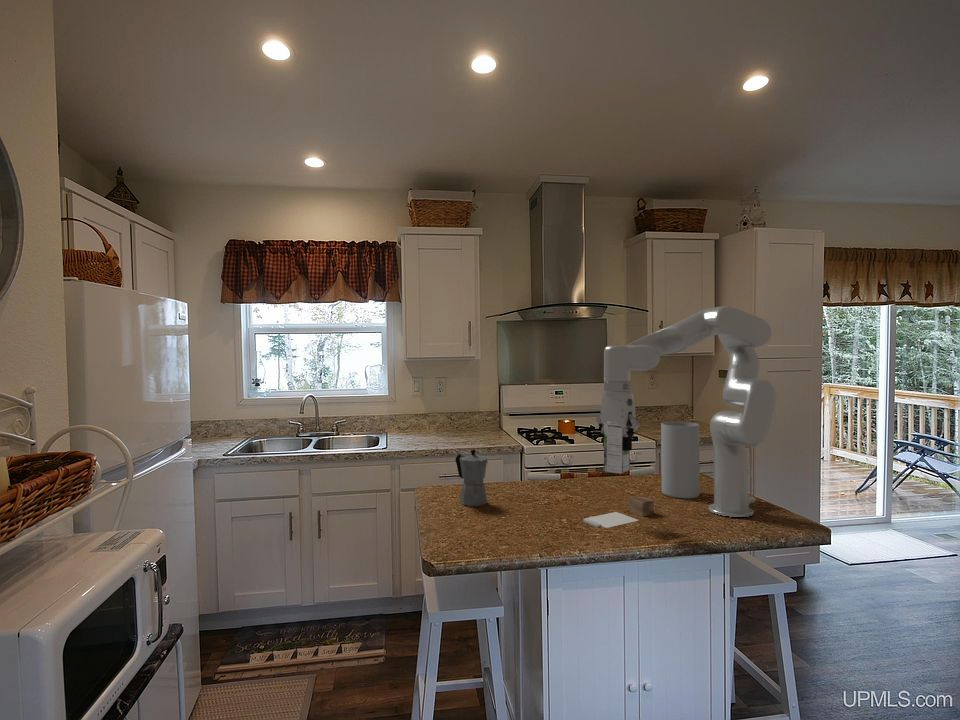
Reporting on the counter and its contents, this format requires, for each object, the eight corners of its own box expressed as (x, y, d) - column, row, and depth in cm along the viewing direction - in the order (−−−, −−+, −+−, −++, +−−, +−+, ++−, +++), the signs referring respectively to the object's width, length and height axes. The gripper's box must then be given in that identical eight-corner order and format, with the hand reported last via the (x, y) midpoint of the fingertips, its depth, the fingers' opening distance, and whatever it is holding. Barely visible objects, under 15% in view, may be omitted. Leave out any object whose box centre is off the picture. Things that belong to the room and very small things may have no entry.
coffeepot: (497, 503, 168) (496, 450, 168) (476, 509, 162) (476, 454, 162) (466, 495, 179) (466, 444, 179) (446, 500, 173) (445, 448, 173)
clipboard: (615, 512, 157) (615, 508, 157) (645, 523, 146) (645, 519, 146) (575, 521, 149) (575, 516, 149) (604, 533, 139) (604, 528, 139)
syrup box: (611, 468, 151) (611, 420, 151) (630, 471, 147) (630, 421, 147) (603, 471, 146) (603, 421, 146) (622, 474, 142) (622, 423, 143)
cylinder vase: (655, 494, 178) (654, 424, 178) (672, 488, 186) (671, 420, 186) (689, 501, 169) (688, 427, 169) (706, 494, 177) (705, 423, 177)
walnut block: (641, 512, 158) (641, 496, 158) (654, 516, 153) (653, 500, 153) (629, 514, 155) (629, 498, 155) (642, 519, 151) (642, 502, 151)
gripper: (649, 388, 141) (649, 451, 141) (605, 386, 156) (605, 443, 156) (630, 389, 137) (630, 454, 137) (586, 386, 152) (586, 445, 152)
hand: (616, 447), depth 147 cm, fingers closed on syrup box, 7 cm apart
